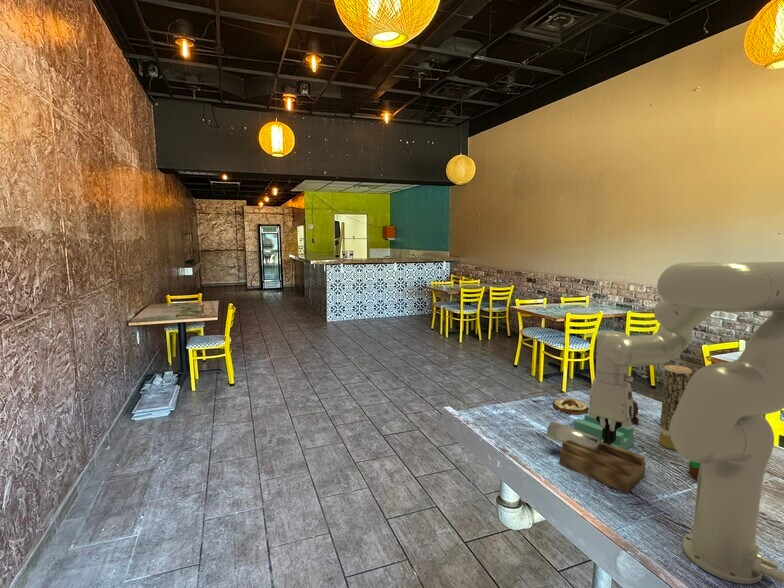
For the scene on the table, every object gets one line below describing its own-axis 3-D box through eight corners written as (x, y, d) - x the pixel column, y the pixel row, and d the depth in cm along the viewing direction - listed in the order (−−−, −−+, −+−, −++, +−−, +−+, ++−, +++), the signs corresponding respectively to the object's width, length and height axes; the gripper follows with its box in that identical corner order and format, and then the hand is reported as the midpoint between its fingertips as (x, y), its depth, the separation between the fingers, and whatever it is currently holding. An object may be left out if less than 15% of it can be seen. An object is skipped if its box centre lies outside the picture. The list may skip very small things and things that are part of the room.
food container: (685, 461, 119) (688, 428, 117) (712, 469, 115) (716, 435, 114) (682, 480, 109) (685, 445, 108) (711, 489, 105) (714, 452, 104)
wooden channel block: (644, 476, 111) (646, 455, 111) (626, 493, 104) (628, 470, 103) (579, 450, 125) (580, 431, 124) (559, 463, 118) (560, 444, 117)
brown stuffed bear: (607, 392, 157) (623, 411, 142) (628, 388, 155) (645, 407, 141) (610, 408, 158) (626, 429, 143) (631, 405, 156) (649, 425, 142)
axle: (602, 451, 116) (602, 435, 115) (593, 458, 113) (593, 442, 112) (555, 433, 127) (555, 418, 126) (547, 440, 124) (546, 425, 123)
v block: (633, 444, 129) (635, 426, 128) (617, 456, 121) (618, 437, 121) (589, 428, 140) (590, 412, 139) (571, 439, 132) (572, 421, 131)
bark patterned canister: (689, 452, 124) (696, 372, 121) (664, 450, 125) (671, 371, 122) (678, 441, 131) (685, 365, 127) (655, 439, 132) (661, 364, 129)
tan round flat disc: (586, 403, 163) (586, 393, 162) (595, 419, 148) (596, 408, 148) (546, 400, 166) (547, 390, 166) (552, 415, 152) (553, 404, 151)
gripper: (647, 380, 107) (644, 448, 108) (589, 368, 118) (587, 430, 120) (636, 386, 102) (633, 457, 104) (577, 373, 114) (575, 437, 115)
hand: (608, 442), depth 112 cm, fingers closed
